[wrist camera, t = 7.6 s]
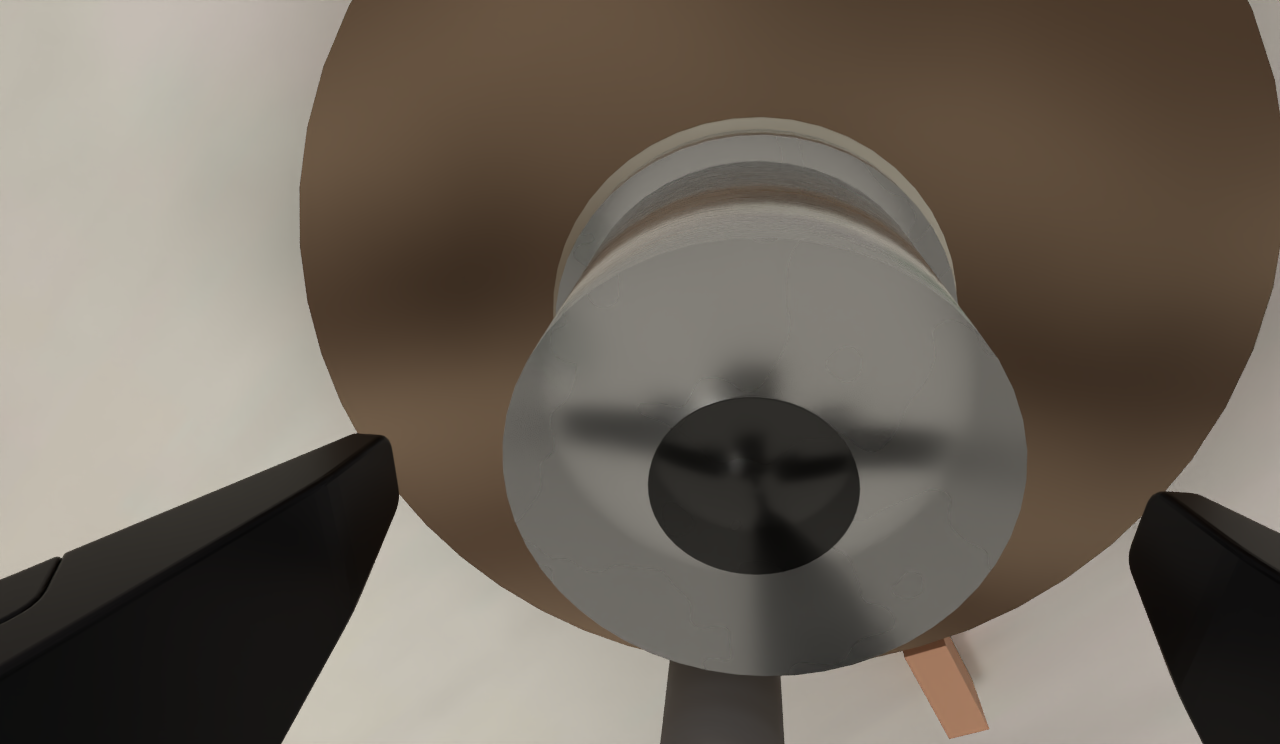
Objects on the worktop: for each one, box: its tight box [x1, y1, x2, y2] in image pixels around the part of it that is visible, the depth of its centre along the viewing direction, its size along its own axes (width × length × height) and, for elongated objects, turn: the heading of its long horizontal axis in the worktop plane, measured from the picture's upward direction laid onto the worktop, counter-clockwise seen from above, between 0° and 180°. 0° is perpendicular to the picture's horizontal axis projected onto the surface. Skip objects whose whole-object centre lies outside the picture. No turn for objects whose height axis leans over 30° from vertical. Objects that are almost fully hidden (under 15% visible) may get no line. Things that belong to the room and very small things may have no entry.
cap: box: [503, 129, 1027, 676], centre depth 12 cm, size 7×7×6 cm
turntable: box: [300, 0, 1280, 744], centre depth 13 cm, size 18×18×6 cm
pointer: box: [903, 636, 989, 739], centre depth 19 cm, size 3×1×2 cm, turn 30°
